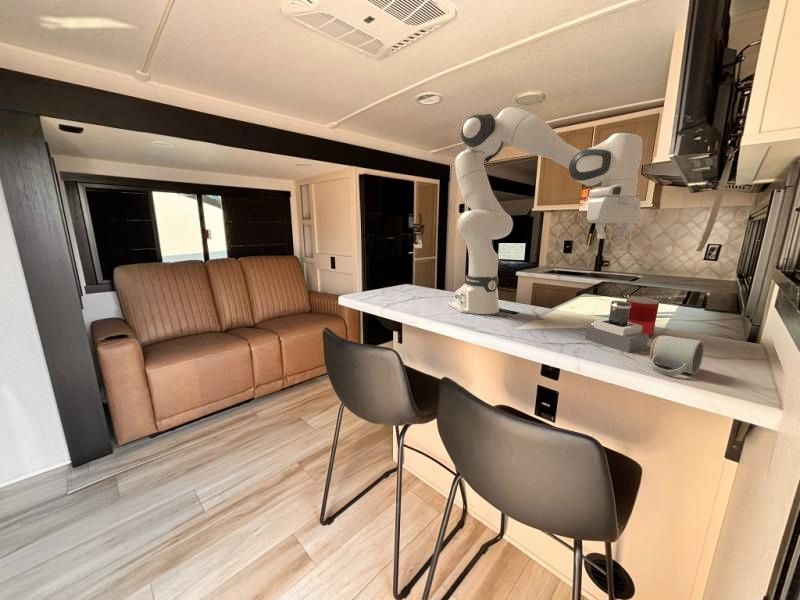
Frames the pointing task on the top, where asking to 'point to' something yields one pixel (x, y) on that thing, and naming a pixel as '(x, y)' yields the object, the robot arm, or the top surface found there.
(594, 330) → the grey tissue box
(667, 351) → the ceramic mug
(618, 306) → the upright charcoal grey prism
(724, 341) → the top surface
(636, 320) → the canned food
